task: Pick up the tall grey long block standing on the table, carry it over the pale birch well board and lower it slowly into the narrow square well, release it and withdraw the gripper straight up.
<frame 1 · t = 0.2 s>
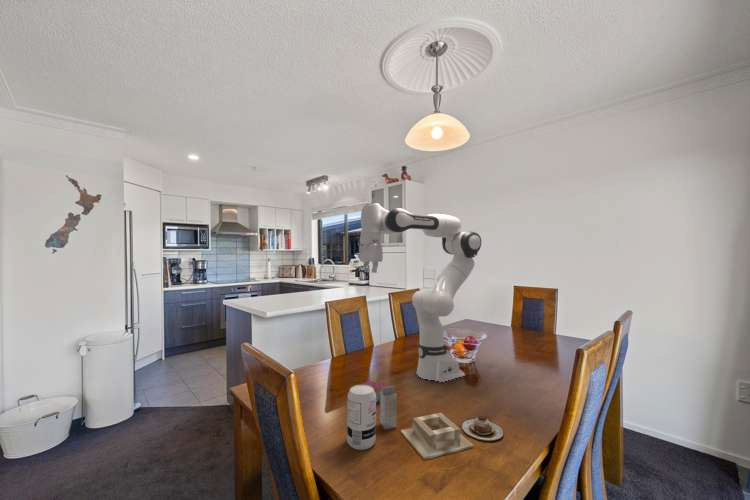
hand: (370, 272, 131), 48 cm above the table, fingers open, 8 cm apart
grey long block: (388, 425, 97), on the table
supplement can: (361, 443, 87), on the table
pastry: (482, 433, 94), on the table
well: (435, 439, 89), on the table
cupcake: (371, 401, 114), on the table
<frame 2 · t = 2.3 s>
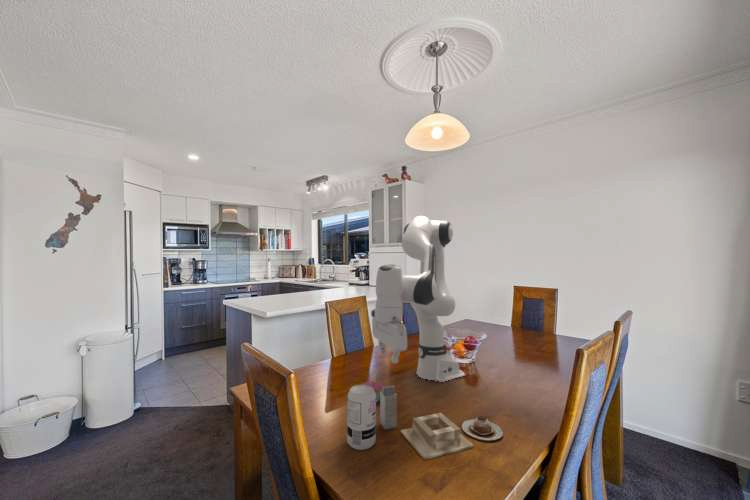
hand: (388, 358, 98), 21 cm above the table, fingers open, 8 cm apart
nothing on the table moved.
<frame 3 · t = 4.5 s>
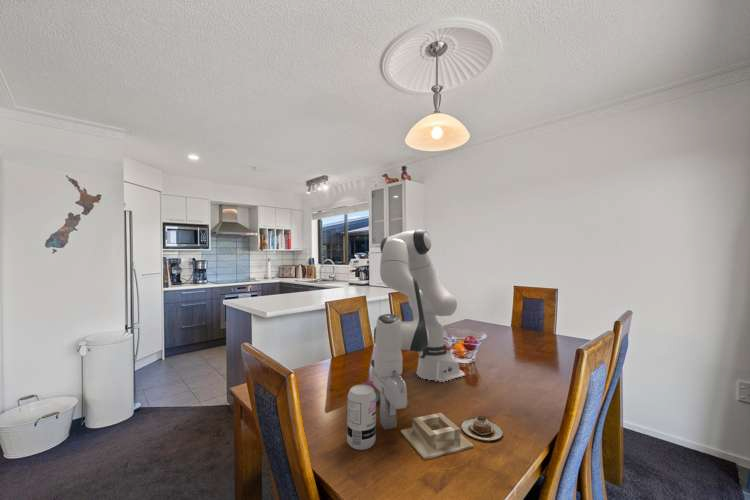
hand: (388, 410, 97), 5 cm above the table, fingers closed on grey long block, 4 cm apart
grey long block: (388, 425, 97), on the table, touching gripper
everything else where it was.
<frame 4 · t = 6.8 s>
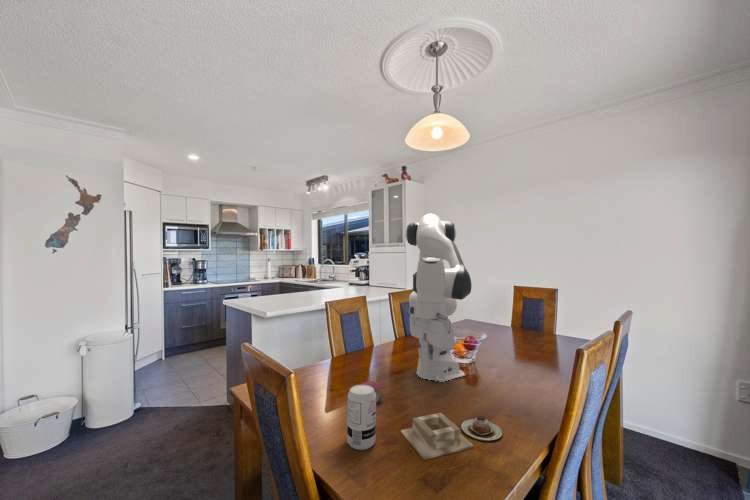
hand: (430, 357, 91), 23 cm above the table, fingers closed on grey long block, 4 cm apart
grey long block: (429, 373, 90), point 19 cm above the table, touching gripper
everything else where it was.
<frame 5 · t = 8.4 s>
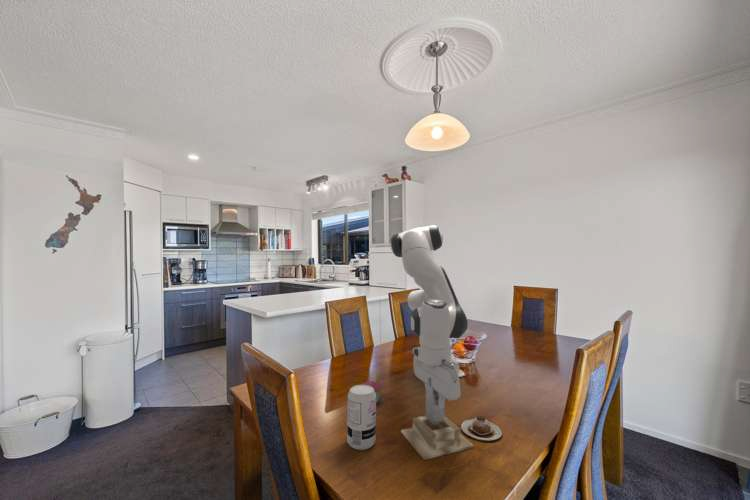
hand: (435, 402, 89), 11 cm above the table, fingers closed on grey long block, 4 cm apart
grey long block: (434, 418, 89), point 6 cm above the table, touching gripper
everything else where it was.
when the fingers open (7 cm above the table, at t = 9.5 s): grey long block drops 1 cm, resting on well.
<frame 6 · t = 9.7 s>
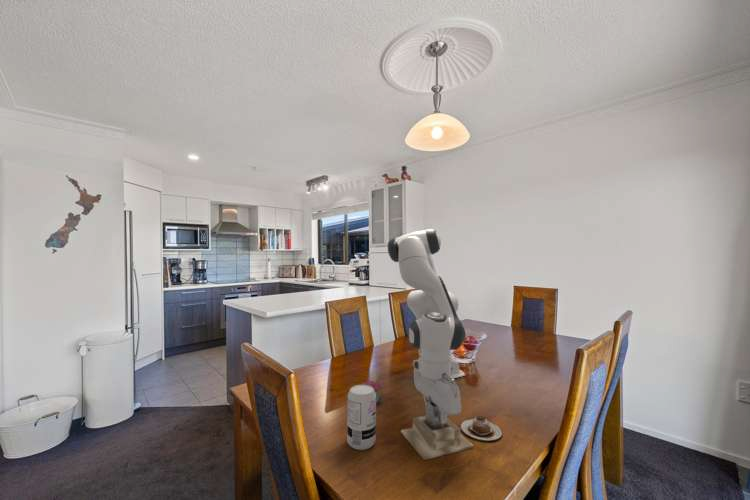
hand: (435, 416, 89), 7 cm above the table, fingers open, 6 cm apart
grey long block: (435, 437, 89), point 1 cm above the table, touching well
everything else where it was.
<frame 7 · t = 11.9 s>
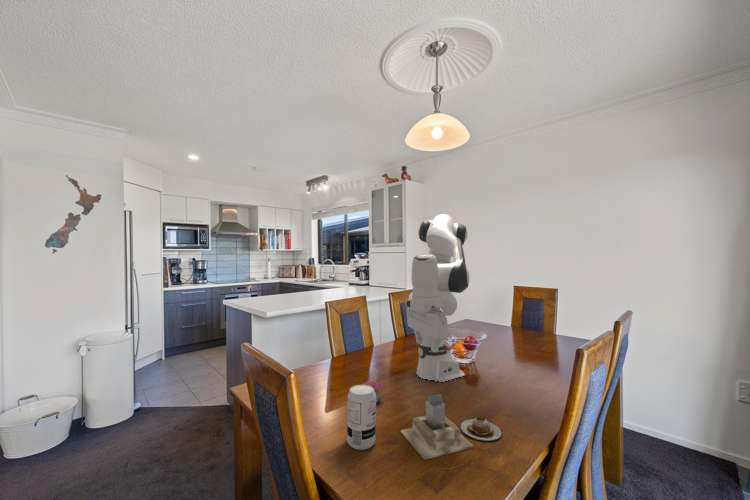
hand: (426, 347, 98), 25 cm above the table, fingers open, 8 cm apart
nothing on the table moved.
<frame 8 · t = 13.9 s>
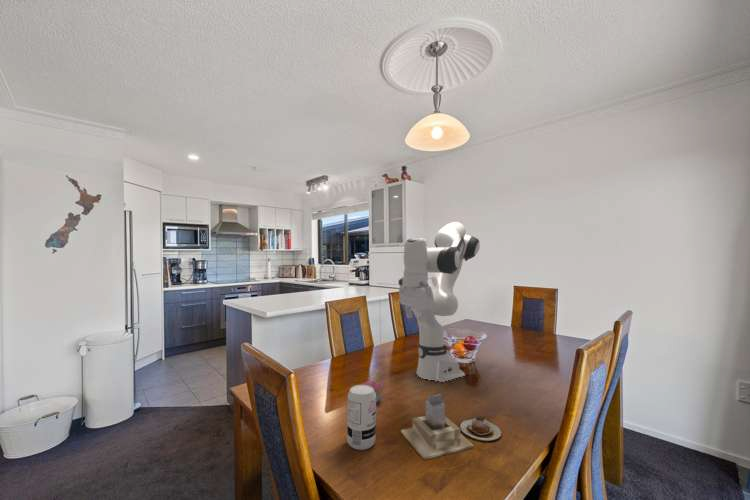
hand: (415, 319, 110), 31 cm above the table, fingers open, 8 cm apart
nothing on the table moved.
at the end: grey long block 0.1 cm off-centre on the well, point 0.6 cm above the well's base; grey long block tilted 0°; the gripper is holding nothing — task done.
